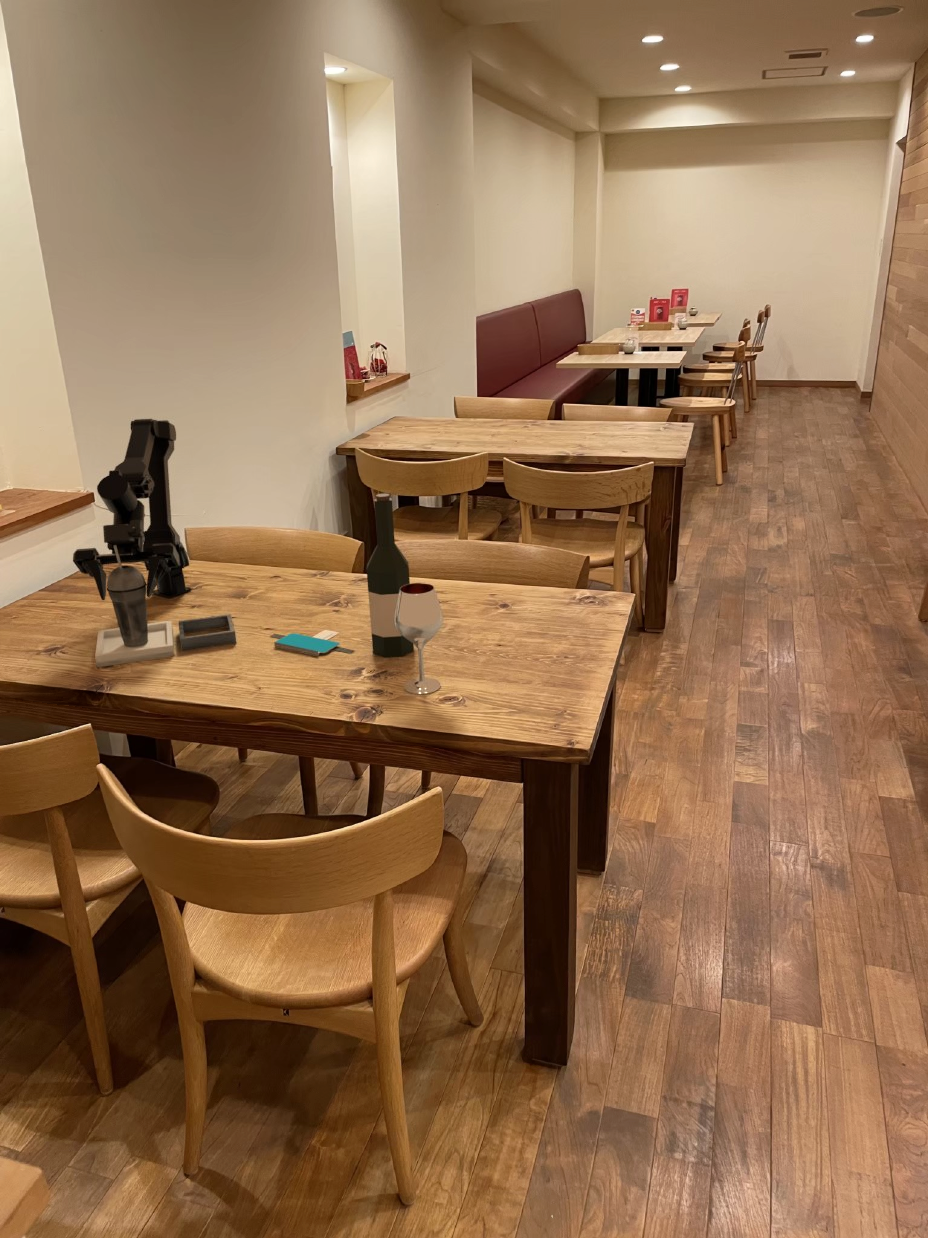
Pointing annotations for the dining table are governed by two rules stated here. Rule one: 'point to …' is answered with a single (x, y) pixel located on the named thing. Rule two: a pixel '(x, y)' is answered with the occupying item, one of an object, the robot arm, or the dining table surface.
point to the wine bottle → (386, 584)
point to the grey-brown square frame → (206, 639)
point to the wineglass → (419, 627)
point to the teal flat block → (309, 643)
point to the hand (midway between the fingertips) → (125, 597)
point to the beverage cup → (129, 603)
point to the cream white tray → (116, 652)
